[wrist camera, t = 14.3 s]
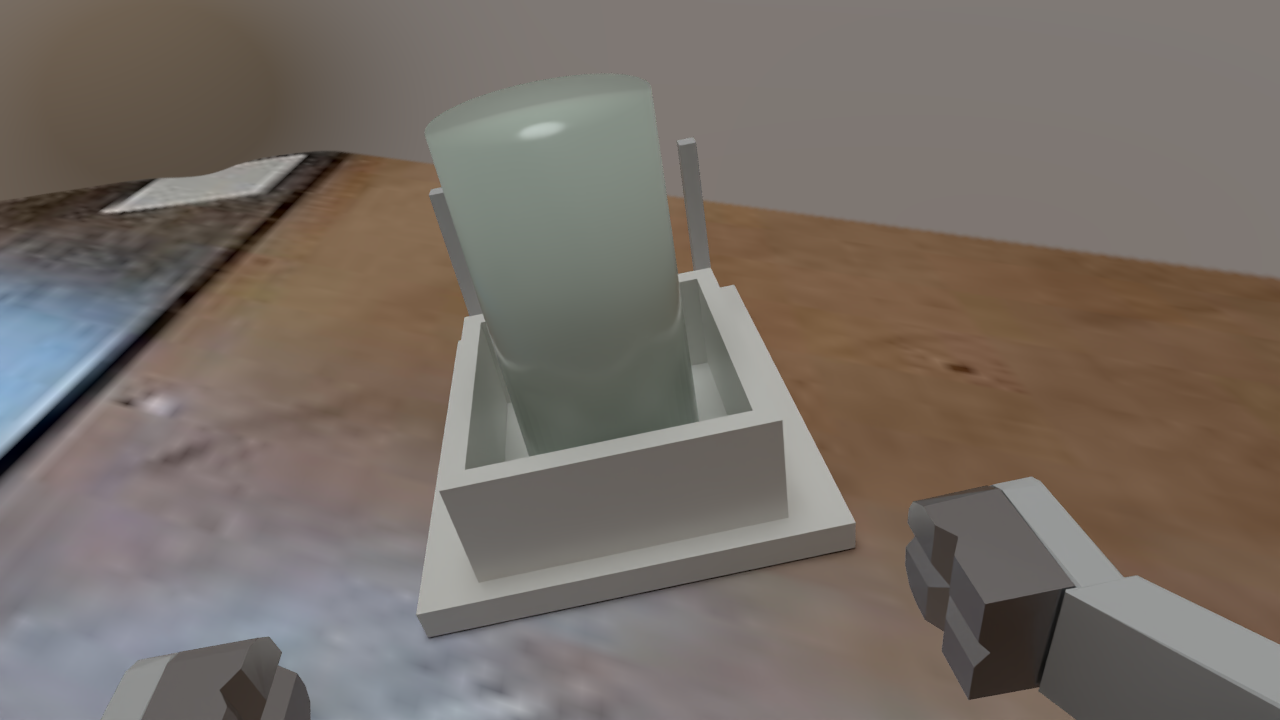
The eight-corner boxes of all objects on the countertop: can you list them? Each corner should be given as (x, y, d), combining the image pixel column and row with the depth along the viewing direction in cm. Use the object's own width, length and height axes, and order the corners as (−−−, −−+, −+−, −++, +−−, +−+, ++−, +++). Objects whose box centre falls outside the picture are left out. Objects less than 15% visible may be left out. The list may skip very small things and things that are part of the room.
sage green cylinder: (619, 540, 20) (523, 160, 14) (500, 466, 24) (381, 133, 18) (736, 431, 23) (698, 79, 17) (616, 379, 27) (548, 69, 21)
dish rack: (855, 547, 20) (857, 298, 16) (428, 637, 20) (308, 410, 16) (736, 304, 32) (718, 122, 27) (465, 360, 32) (402, 184, 27)
